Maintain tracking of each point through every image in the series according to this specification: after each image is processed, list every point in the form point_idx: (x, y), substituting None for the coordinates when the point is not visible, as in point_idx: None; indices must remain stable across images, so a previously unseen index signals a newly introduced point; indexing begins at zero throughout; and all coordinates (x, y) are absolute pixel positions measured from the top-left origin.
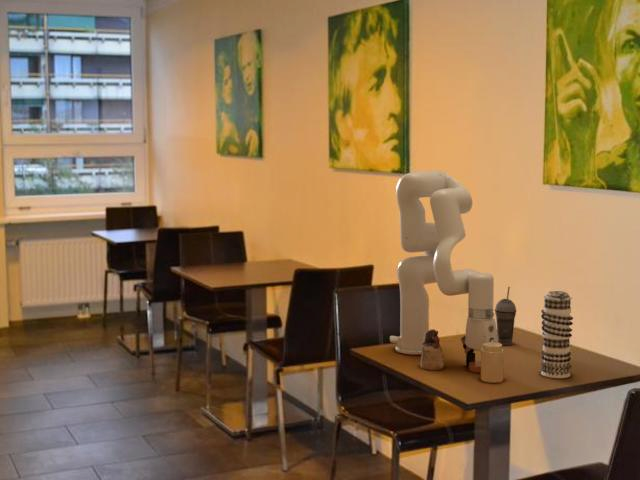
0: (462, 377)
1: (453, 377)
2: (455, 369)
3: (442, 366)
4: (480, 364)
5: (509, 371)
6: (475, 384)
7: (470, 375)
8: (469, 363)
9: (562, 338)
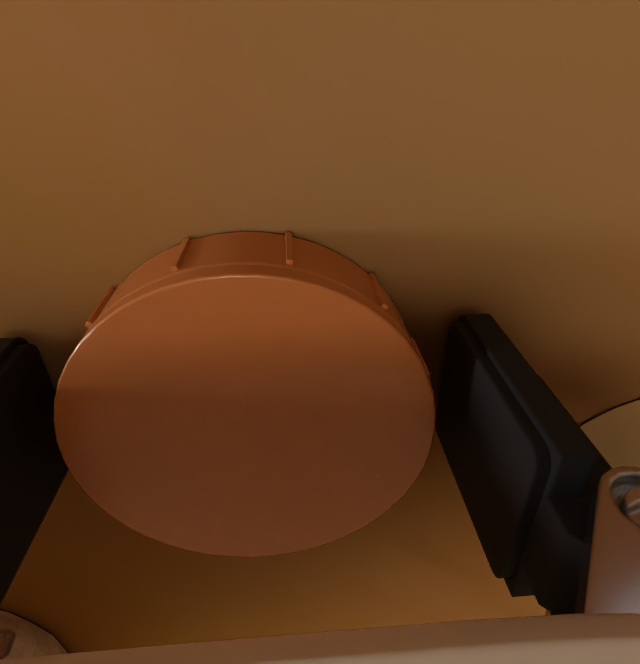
0: (388, 613)
1: None
2: (112, 561)
3: (36, 652)
4: (291, 461)
5: (623, 32)
6: None
7: (383, 552)
8: (167, 541)
9: None
